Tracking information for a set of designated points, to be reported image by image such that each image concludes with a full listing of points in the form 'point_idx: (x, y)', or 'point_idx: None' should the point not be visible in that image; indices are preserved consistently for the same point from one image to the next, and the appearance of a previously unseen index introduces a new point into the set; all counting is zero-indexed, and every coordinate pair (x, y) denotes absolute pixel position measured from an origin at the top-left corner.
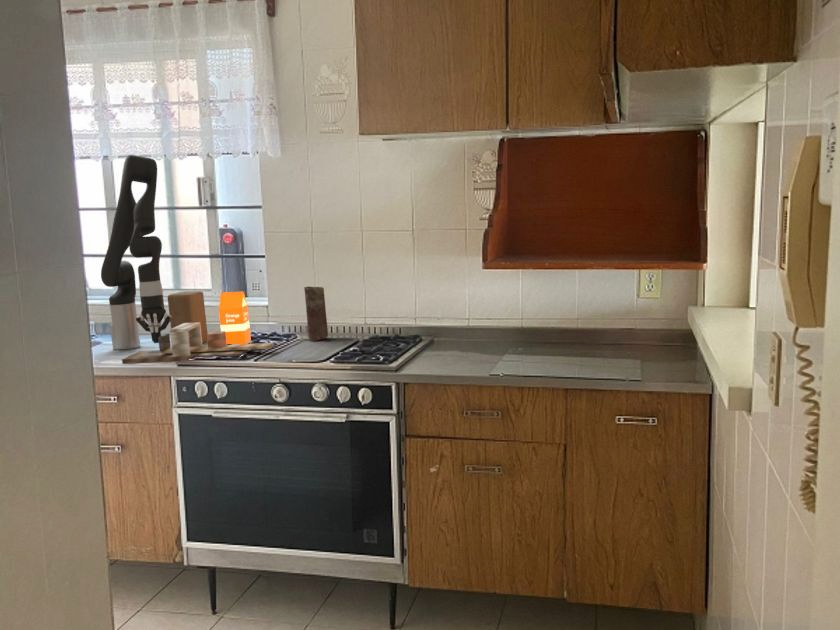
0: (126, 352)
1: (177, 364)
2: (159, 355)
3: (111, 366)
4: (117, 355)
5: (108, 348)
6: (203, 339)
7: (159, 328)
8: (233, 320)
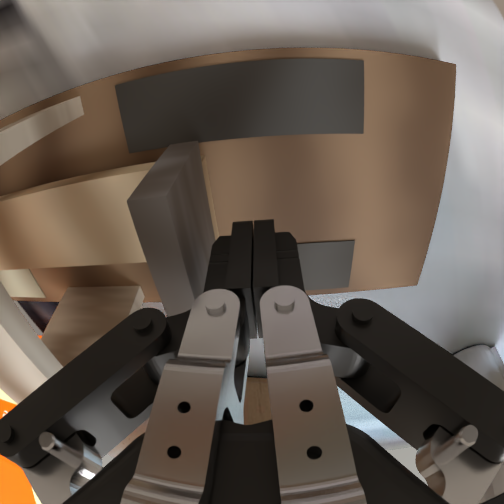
0: (464, 318)
1: (26, 18)
2: (206, 128)
3: (467, 6)
4: (492, 275)
5: (501, 355)
6: None
7: (178, 340)
8: (4, 414)
